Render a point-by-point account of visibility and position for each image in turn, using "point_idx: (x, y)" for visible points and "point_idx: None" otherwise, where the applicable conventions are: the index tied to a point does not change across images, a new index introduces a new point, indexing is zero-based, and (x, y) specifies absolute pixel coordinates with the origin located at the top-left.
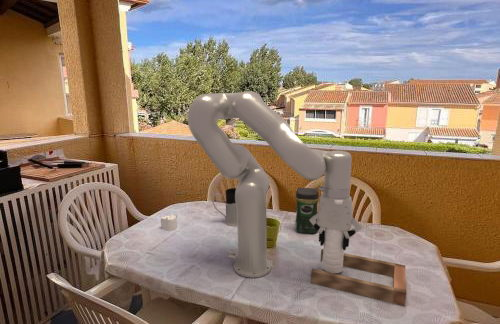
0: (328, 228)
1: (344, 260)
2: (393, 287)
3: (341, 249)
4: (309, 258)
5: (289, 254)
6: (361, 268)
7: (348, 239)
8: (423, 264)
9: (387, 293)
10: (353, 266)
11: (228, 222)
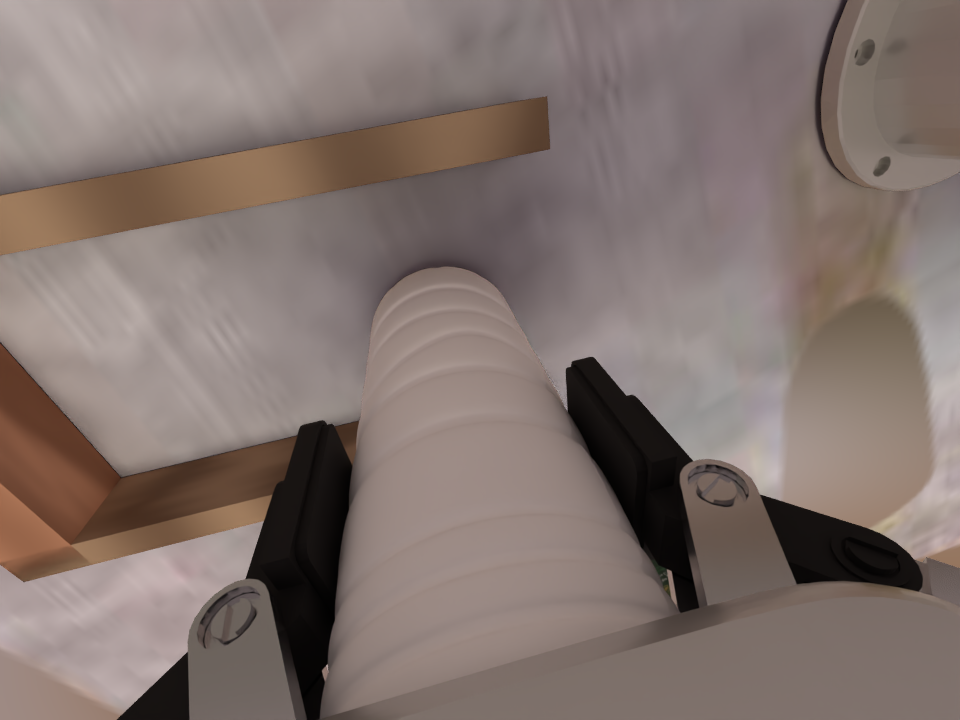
0: (630, 629)
1: None
2: None
3: (363, 428)
4: (605, 366)
5: (720, 335)
6: None
7: (249, 577)
8: (91, 635)
9: None
10: (349, 431)
11: None
